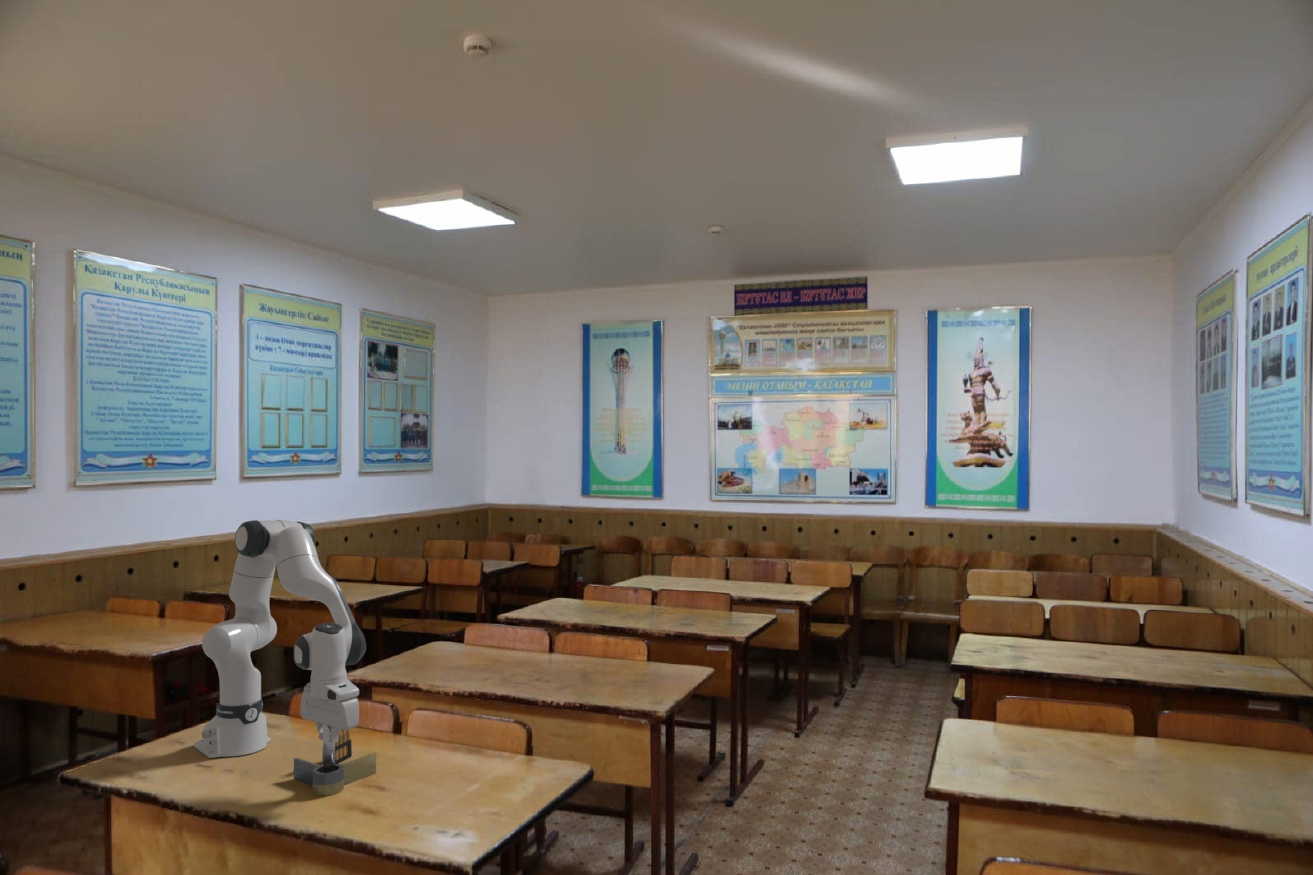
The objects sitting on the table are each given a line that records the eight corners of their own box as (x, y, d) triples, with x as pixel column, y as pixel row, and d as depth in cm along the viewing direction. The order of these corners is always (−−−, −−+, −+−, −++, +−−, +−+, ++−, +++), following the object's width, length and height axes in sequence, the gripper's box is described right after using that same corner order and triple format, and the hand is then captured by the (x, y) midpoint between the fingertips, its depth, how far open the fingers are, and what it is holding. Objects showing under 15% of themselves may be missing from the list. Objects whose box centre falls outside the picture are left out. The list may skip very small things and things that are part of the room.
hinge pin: (320, 764, 222) (320, 718, 223) (330, 761, 225) (330, 715, 225) (327, 767, 221) (327, 720, 221) (337, 763, 223) (337, 717, 224)
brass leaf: (306, 791, 222) (307, 770, 222) (366, 770, 237) (366, 750, 237) (324, 797, 217) (324, 776, 218) (383, 775, 233) (383, 755, 233)
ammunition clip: (327, 769, 238) (327, 725, 238) (321, 768, 238) (321, 725, 239) (351, 756, 248) (352, 714, 248) (346, 755, 249) (346, 714, 249)
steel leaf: (282, 782, 228) (282, 762, 228) (307, 774, 234) (307, 754, 234) (324, 797, 217) (324, 776, 218) (349, 788, 224) (349, 767, 224)
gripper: (294, 684, 227) (294, 736, 226) (342, 695, 215) (342, 751, 215) (315, 679, 232) (315, 730, 231) (363, 690, 220) (363, 744, 220)
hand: (328, 740), depth 223 cm, fingers closed on hinge pin, 3 cm apart
